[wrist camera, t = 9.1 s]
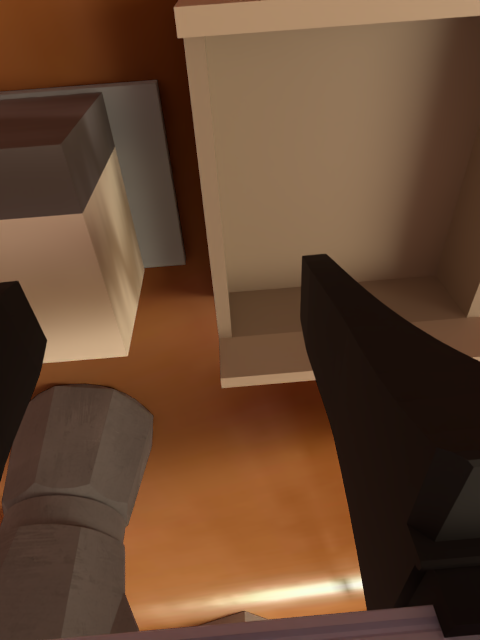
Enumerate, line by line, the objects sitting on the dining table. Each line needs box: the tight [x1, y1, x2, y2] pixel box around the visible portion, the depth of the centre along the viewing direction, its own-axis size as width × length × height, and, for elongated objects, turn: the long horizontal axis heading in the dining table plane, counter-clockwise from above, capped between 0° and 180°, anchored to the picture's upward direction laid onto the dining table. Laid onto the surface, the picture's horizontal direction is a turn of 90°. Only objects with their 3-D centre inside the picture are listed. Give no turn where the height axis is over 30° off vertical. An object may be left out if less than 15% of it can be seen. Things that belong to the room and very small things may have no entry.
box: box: [0, 92, 145, 363], centre depth 16 cm, size 8×4×6 cm, turn 3°
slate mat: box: [0, 80, 186, 268], centre depth 19 cm, size 8×8×1 cm
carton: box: [174, 0, 480, 388], centre depth 17 cm, size 13×12×6 cm
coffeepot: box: [0, 384, 153, 640], centre depth 23 cm, size 15×9×18 cm, turn 104°
